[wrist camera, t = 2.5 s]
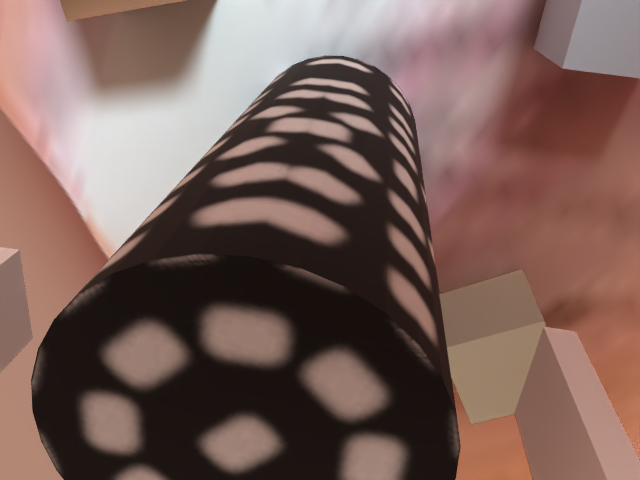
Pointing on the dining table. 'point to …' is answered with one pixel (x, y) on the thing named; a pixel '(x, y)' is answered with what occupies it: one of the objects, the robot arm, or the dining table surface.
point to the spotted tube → (267, 308)
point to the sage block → (491, 342)
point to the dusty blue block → (592, 36)
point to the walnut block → (105, 7)
